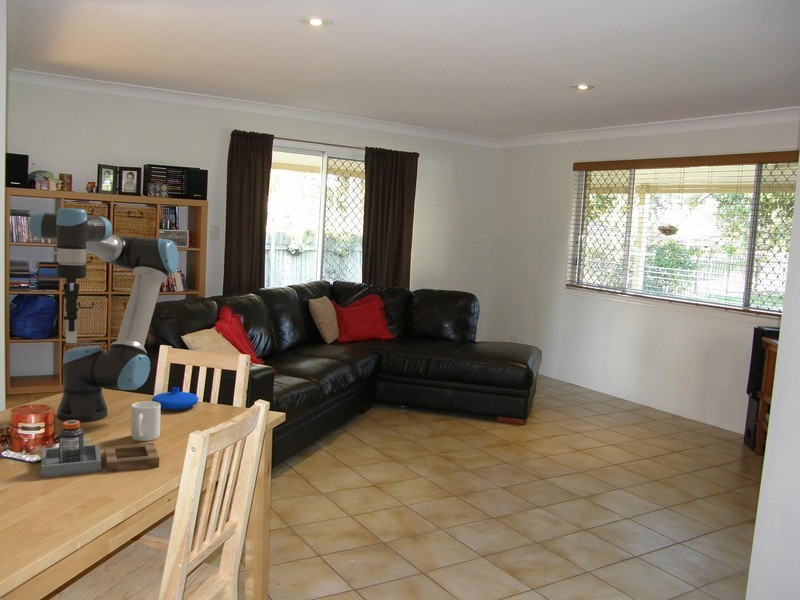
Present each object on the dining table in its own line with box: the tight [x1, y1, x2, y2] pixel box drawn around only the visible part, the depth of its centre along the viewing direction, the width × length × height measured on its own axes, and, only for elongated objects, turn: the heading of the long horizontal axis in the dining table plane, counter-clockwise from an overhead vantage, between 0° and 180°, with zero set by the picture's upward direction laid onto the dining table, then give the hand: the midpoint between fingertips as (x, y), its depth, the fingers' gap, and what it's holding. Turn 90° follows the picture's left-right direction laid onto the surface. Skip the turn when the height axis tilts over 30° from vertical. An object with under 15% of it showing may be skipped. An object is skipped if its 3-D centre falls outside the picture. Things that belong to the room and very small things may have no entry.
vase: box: [151, 386, 199, 411], centre depth 242 cm, size 16×16×7 cm
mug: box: [130, 400, 162, 442], centre depth 206 cm, size 12×8×10 cm
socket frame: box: [104, 442, 160, 473], centre depth 190 cm, size 16×13×2 cm
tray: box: [40, 443, 102, 479], centre depth 182 cm, size 14×14×3 cm
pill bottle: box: [58, 420, 85, 464], centre depth 182 cm, size 6×6×11 cm
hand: (71, 338), depth 193 cm, fingers open, 13 cm apart
